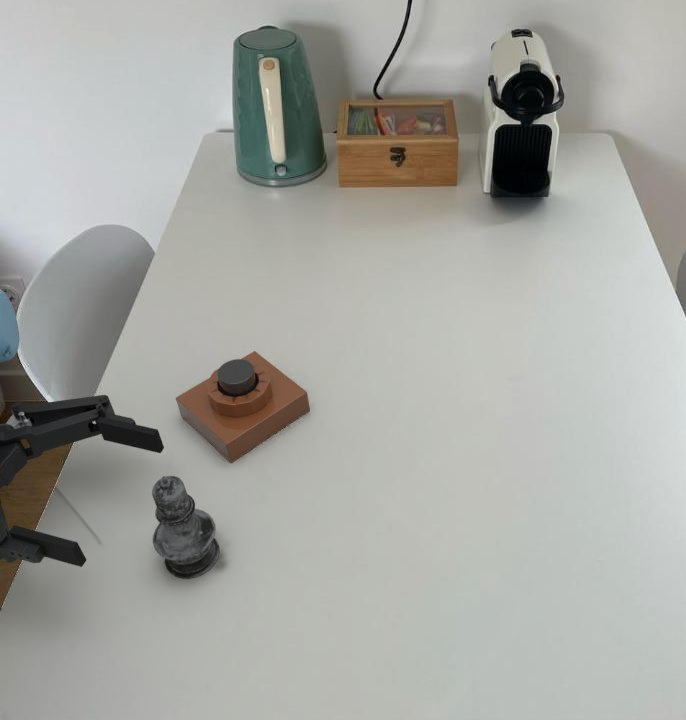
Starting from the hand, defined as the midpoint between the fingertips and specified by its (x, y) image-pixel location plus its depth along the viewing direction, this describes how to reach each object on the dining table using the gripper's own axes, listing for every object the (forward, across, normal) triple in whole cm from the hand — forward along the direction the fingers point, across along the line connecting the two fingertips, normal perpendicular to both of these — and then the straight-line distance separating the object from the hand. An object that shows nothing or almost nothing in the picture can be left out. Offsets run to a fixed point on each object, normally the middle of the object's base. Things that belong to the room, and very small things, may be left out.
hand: (122, 494), depth 75 cm
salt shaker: (+5, 0, -8) cm, 9 cm away
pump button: (+2, -19, -3) cm, 19 cm away
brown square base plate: (+2, -19, -8) cm, 21 cm away
